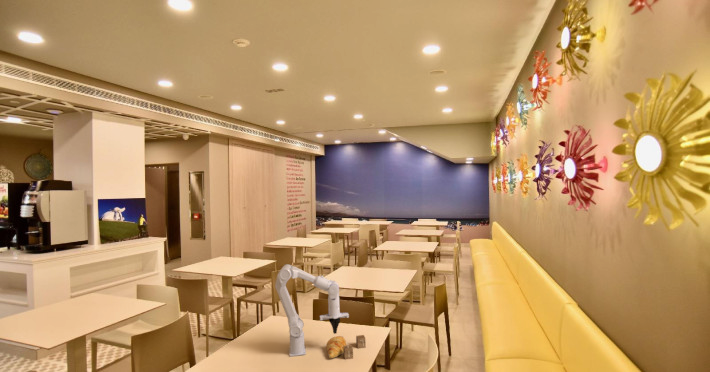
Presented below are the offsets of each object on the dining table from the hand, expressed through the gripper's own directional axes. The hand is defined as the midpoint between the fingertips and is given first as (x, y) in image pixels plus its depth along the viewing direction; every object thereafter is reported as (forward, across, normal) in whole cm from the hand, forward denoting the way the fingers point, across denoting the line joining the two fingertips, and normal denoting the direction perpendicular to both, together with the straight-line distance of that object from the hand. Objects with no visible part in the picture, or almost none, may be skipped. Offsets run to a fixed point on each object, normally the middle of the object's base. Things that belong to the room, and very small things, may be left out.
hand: (334, 332), depth 186 cm
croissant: (+9, 0, 0) cm, 9 cm away
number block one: (+9, +5, -9) cm, 14 cm away
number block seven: (+9, +14, +1) cm, 16 cm away
